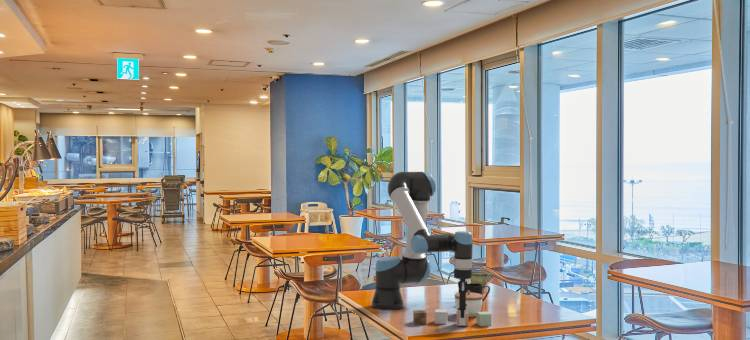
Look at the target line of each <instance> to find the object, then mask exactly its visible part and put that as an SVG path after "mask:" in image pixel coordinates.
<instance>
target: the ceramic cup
mask: <svg viewBox="0 0 750 340" xmlns="http://www.w3.org/2000/svg"><path fill="white" fill-rule="evenodd" d="M490 276H492V277H491V278H490V279H489V280H488V281H487V278H488V277H490ZM493 279H494V276H493V274H491V273H488V272H487V271H482V270H472V278H470V279H469V280H470V284H481V285H483V286H487V284H488V283H489V282H490V281H492V280H493ZM485 288H486V287H484V288H483V292H485Z"/></svg>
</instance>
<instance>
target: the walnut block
mask: <svg viewBox="0 0 750 340" xmlns="http://www.w3.org/2000/svg"><path fill="white" fill-rule="evenodd" d="M412 321H413V324H414V325H415V326H417V325H420V326H421V325H427V311H426V310H424V309H423V310H422V309H420V310H419V309H417V310H416V309H415V310H413V320H412Z"/></svg>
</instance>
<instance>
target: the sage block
mask: <svg viewBox="0 0 750 340" xmlns="http://www.w3.org/2000/svg"><path fill="white" fill-rule="evenodd" d="M475 318H476V319H475V322H476V325H478V326H479V327H492V313H491V312H489V311H480V312H476V316H475Z"/></svg>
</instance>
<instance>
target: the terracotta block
mask: <svg viewBox="0 0 750 340" xmlns="http://www.w3.org/2000/svg"><path fill="white" fill-rule="evenodd" d="M455 317H456V318H455V320H456V321H455V326H457V327H469V321H470V319H469V318H470V317H469V313H468V312H466V322H465V326H464V325H459V311H457V310H456V315H455Z"/></svg>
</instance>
